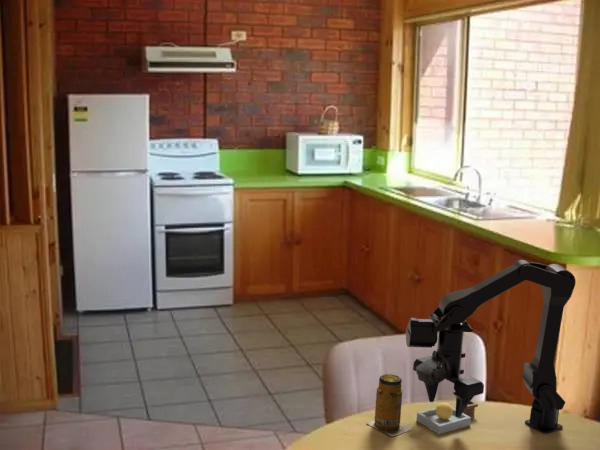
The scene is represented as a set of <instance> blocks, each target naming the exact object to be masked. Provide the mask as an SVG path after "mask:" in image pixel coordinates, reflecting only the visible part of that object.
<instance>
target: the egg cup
mask: <svg viewBox="0 0 600 450" xmlns="http://www.w3.org/2000/svg"><path fill="white" fill-rule="evenodd" d="M478 406H479V404H478V403H477V402H475V401H473V400H471V401H470V402H469V404H468V405H467V407H466V408H465V410H464V411H463V413H464V414H466V415H467V416H469V417H471V419H472V418H473V417H475V410H476V408H478Z"/></svg>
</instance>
